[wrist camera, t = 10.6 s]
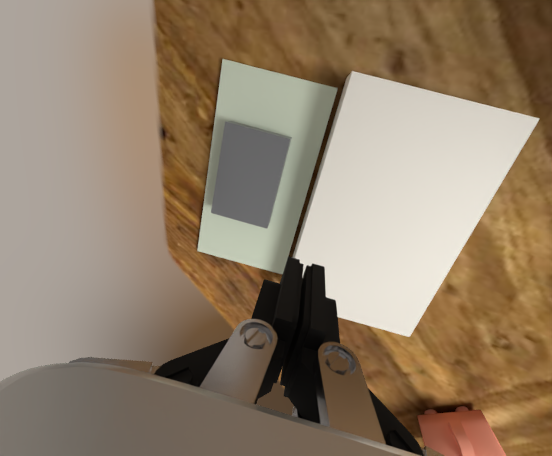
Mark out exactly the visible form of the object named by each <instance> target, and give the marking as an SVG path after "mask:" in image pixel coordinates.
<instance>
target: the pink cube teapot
mask: <svg viewBox="0 0 552 456" xmlns="http://www.w3.org/2000/svg"><path fill="white" fill-rule="evenodd" d="M424 414H425V415H417V417H418V421H419V425H420V429H421V433H422V437H423V441H424V445H425V446H427V447H429V448H431V449H433V450H435V451H437V452H439V453H440V454H442V455H444V456H506V454H505V452H504V451H503V449H502V447H501V445H500V444H499V442H498V440H497V438H496V436H495V435H494V433H493V431H492V429H491V427H490V426H489V424H488V422H487V420H486V419H485V417H484V415H483V413H482V411H481V410H471V411H468V408H467V407H464V406H460V407H457V408H456V409H455V412H447V413H437V412H436V411H435V410H433V409H428V410H426V411H425V412H424Z"/></svg>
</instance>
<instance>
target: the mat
mask: <svg viewBox="0 0 552 456" xmlns="http://www.w3.org/2000/svg"><path fill="white" fill-rule="evenodd" d="M337 89H338V88H335V87H331V86H327V85H323V84H319V83H315V82H311V81H307V80H303V79H300V78H296V77H292V76H288V75H284V74H280V73H276V72H272V71H268V70H264V69H261V68H257V67H253V66H249V65H245V64H241V63H237V62H233V61H229V60H225V59H223V60H222V68H221V75H220V83H219V91H218V98H217V106H216V113H215V121H214V129H213V136H212V144H211V152H210V159H209V167H208V174H207V182H206V190H205V197H204V205H203V212H202V220H201V228H200V235H199V243H198V251H200V252H203V253H207V254H210V255H214V256H218V257H221V258H225V259H228V260H232V261H236V262H239V263H243V264H246V265H250V266H254V267H257V268H261V269H265V270H268V271H272V272H275V273H279V274H283V272H284V268H285V265H286V262H287V258H288V256H289V252H290V249H291V246H292V242H293V239H294V235H295V232H296V229H297V225H298V222H299V218H300V215H301V212H302V208H303V205H304V201H305V198H306V195H307V191H308V188H309V184H310V181H311V178H312V174H313V171H314V167H315V164H316V161H317V157H318V154H319V150H320V147H321V144H322V140H323V137H324V133H325V130H326V127H327V123H328V120H329V116H330V113H331V110H332V106H333V103H334V100H335V96H336V93H337ZM225 121H234V122H238V123H241V124H245V125H249V126H252V127H256V128H260V129H263V130H267V131H270V132H274V133H278V134H281V135H285V136H289V137H292V139H291V143H290V147H289V151H288V154H287V158H286V162H285V166H284V170H283V174H282V178H281V182H280V185H279V189H278V193H277V197H276V201H275V205H274V209H273V213H272V216H271V220H270V223H269V226H268V228H267V229H266V228H262V227H259V226H255V225H252V224H248V223H245V222H241V221H238V220H234V219H231V218H227V217H223V216H220V215H216V214H213V213H211V209H212V202H213V196H214V190H215V183H216V177H217V170H218V164H219V157H220V151H221V145H222V138H223V132H224V125H225Z"/></svg>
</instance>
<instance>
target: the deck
mask: <svg viewBox="0 0 552 456" xmlns="http://www.w3.org/2000/svg"><path fill="white" fill-rule="evenodd" d="M538 121H539V118H535V117H531V116H527V115H524V114H520V113H516V112H512V111H508V110H504V109H500V108H496V107H492V106H488V105H484V104H480V103H476V102H472V101H468V100H464V99H460V98H457V97H453V96H449V95H445V94H441V93H437V92H433V91H429V90H425V89H421V88H417V87H413V86H409V85H405V84H401V83H397V82H394V81H390V80H386V79H382V78H378V77H374V76H370V75H366V74H362V73H358V72H354V71H352V72H351V73H350V74H349V76H348V77H347V78H346V81H345V85H344V88H343V91H342V95H341V98H340V101H339V104H338V108H337V111H336V114H335V118H334V121H333V124H332V128H331V131H330V134H329V138H328V141H327V144H326V147H325V151H324V154H323V157H322V161H321V164H320V167H319V171H318V174H317V177H316V181H315V184H314V187H313V190H312V194H311V197H310V200H309V204H308V207H307V210H306V214H305V217H304V220H303V224H302V227H301V230H300V234H299V237H298V240H297V243H296V247H295V250H294V253H293V257H292V258H296V259H299V260H300V263H302V264H304V266H303V275H304V272H305V269H306V266H307V265H309V266H311V265H312V263H313V264H317V265H320V266H324V267H325V290H326V297H327V298H330V299H334V300H335V301H336V306H337V317H340V318H343V319H347V320H351V321H354V322H358V323H361V324H365V325H368V326H372V327H376V328H379V329H383V330H386V331H390V332H393V333H397V334H401V335H404V336H408V337H410V335H411V334H412V332H413V330H414V329H415V327H416V325H417V324H418V322H419V320H420V319H421V317H422V315H423V314H424V312H425V310H426V309H427V307H428V305H429V304H430V302H431V300H432V298H433V297H434V295H435V293H436V292H437V290H438V288H439V287H440V285H441V283H442V282H443V280H444V278H445V277H446V275H447V273H448V272H449V270H450V268H451V267H452V265H453V263H454V262H455V260H456V258H457V257H458V255H459V253H460V252H461V250H462V248H463V246H464V245H465V243H466V241H467V240H468V238H469V236H470V235H471V233H472V231H473V230H474V228H475V226H476V225H477V223H478V221H479V220H480V218H481V216H482V215H483V213H484V211H485V210H486V208H487V206H488V205H489V203H490V201H491V200H492V198H493V196H494V195H495V193H496V191H497V189H498V188H499V186H500V184H501V183H502V181H503V179H504V178H505V176H506V174H507V173H508V171H509V169H510V168H511V166H512V164H513V163H514V161H515V159H516V158H517V156H518V154H519V153H520V151H521V149H522V148H523V146H524V144H525V143H526V141H527V139H528V137H529V136H530V134H531V132H532V131H533V129H534V127H535V126H536V124H537V122H538ZM302 278H303V276H302Z"/></svg>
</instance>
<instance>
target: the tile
mask: <svg viewBox="0 0 552 456" xmlns="http://www.w3.org/2000/svg"><path fill="white" fill-rule="evenodd" d="M291 139H292V137H289V136H285V135H281V134H278V133H274V132H270V131H267V130H263V129H260V128H256V127H252V126H249V125H245V124H241V123H238V122H234V121H225V125H224V132H223V138H222V145H221V151H220V157H219V164H218V170H217V177H216V183H215V190H214V196H213V202H212V209H211V213H213V214H216V215H220V216H223V217H227V218H231V219H234V220H238V221H241V222H245V223H248V224H252V225H255V226H259V227H262V228H266V229H267V228H268V226H269V223H270V220H271V216H272V213H273V209H274V205H275V201H276V197H277V193H278V189H279V185H280V182H281V178H282V174H283V170H284V166H285V162H286V158H287V154H288V151H289V147H290V143H291Z"/></svg>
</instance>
